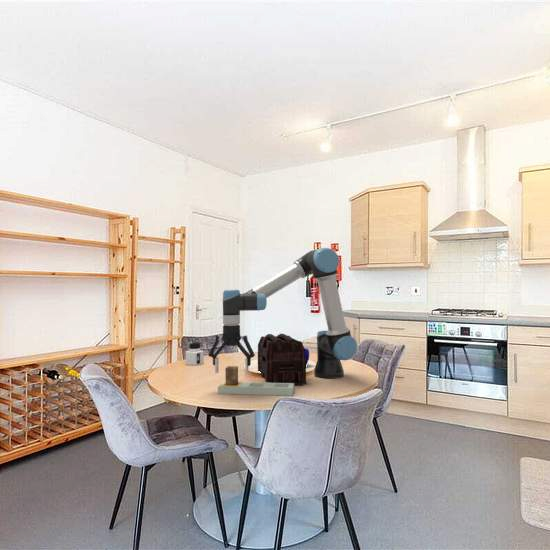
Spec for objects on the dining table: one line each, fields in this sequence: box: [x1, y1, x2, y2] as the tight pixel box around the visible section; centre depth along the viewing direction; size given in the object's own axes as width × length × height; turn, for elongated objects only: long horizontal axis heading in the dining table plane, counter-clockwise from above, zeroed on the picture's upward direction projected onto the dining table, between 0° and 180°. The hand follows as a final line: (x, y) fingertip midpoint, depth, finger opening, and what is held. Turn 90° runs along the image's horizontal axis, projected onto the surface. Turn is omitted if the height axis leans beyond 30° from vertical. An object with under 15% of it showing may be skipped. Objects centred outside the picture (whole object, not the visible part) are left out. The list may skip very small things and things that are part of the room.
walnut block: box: [224, 365, 239, 386], centre depth 173 cm, size 4×4×9 cm
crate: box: [257, 333, 307, 387], centre depth 198 cm, size 35×19×21 cm, turn 12°
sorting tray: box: [217, 380, 295, 397], centre depth 172 cm, size 32×9×3 cm, turn 82°
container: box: [185, 341, 205, 366], centre depth 237 cm, size 8×8×13 cm
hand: (231, 373), depth 174 cm, fingers open, 13 cm apart
